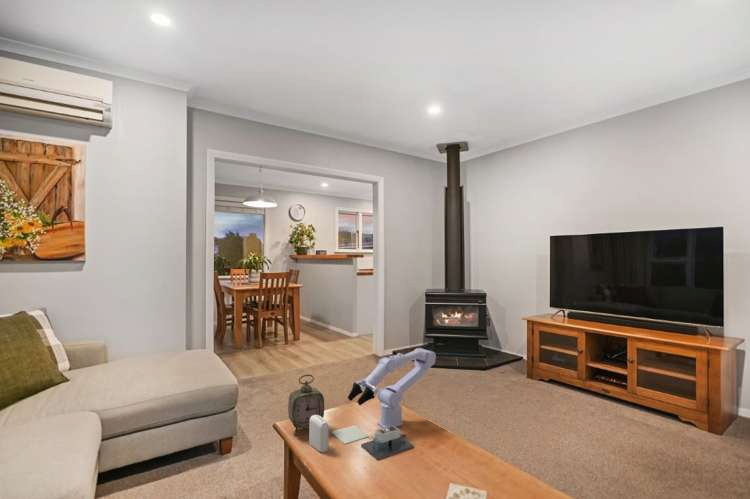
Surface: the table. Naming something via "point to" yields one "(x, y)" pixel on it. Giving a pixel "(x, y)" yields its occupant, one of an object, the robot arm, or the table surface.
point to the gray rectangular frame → (387, 434)
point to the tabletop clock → (305, 405)
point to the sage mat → (350, 434)
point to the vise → (387, 446)
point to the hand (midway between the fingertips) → (353, 401)
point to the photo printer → (318, 433)
